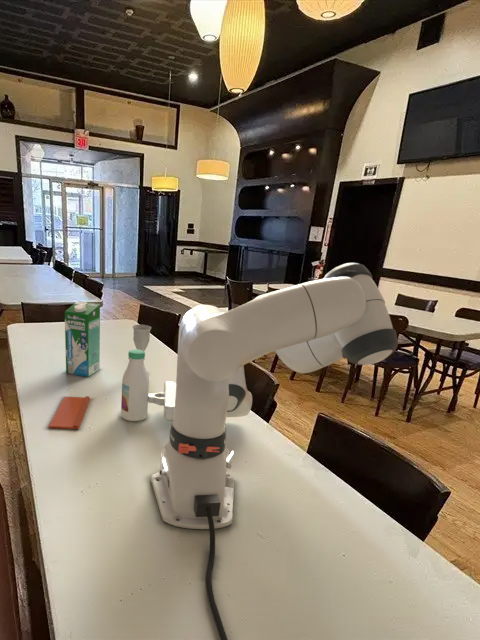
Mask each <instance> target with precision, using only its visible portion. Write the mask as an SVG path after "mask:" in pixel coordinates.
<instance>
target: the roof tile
mask: <svg viewBox="0 0 480 640" xmlns="http://www.w3.org/2000/svg"><path fill="white" fill-rule="evenodd" d="M90 401H91V397H90V396H88V395H87V396H85V397H80V396H63V399H62V401H61V402H60V404H59V406H58V408H57V410H56V411H55V414H54V415H53V417H52V419H51V421H50V423H49V424H48V429H60V430H61V429H62V430H80V427H81V424H82V422H83V419H84V417H85V414H86V411H87V410H88V406H89V404H90Z"/></svg>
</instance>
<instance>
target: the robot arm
mask: <svg viewBox="0 0 480 640" xmlns="http://www.w3.org/2000/svg"><path fill="white" fill-rule="evenodd" d="M177 341H178V342H177V360H176V381H170V380H169V381H165V382H164V383H163V391H159V392H155V393H151V392H150V393H149V392H148V404H155V405H158V406H163V418H164V419H166V420H168V421H171V424H170V428H169V441H168V442H167V443H166V444H164V445H162V448H161V454H160V455H161V457H160V467H159V471H157V472H154V473H152V474H151V477H150V483H151V486H152V489H153V492H154V496H155V500H156V503H157V506H158V510H159V512H160V517H161V519H162V521H163V522H164V523H167V524H168V525H171V526H174V527H177V528H183V529H191V530H209V554H208V560H207V561H208V562H207V567H206V572H205V588H206V595H207V599H208V603H209V607H210V610H211V613H212V617H213V618H214V622H215V627H216V629H217V632H218V635H219V638H220V640H229V639H228V636H227V633H226V630H225V627H224V624H223V621H222V618H221V615H220V612H219V610H218V606H217V603H216V599H215V596H214V595H215V594H214V589H213V569H214V564H215V559H216V558H215V557H216V532H215V530H216V529H222V528H225V527H228V526H230V525H232V524H233V520H234V519H233V518H234V496H235V477H234V476H231V474H229V473H227V469H230V470H231V469H232V461H230V460H231V458H232V457H233V455H234V450H232V451H231V452H230V449H228V448H227V447H226V442H227V428H226V422H227V418H241V417H245V416H248V415H249V414H250V412H251V410H252V407H253V395H252V392H250V391H249V390H248V387H247V384H246V383H247V382H246V375H245V374H246V373H245V365H247V364H249V363H251V362H253V361H255V360H257V359H259V358H261V357H263V356H265V355H268V354H270V353H275V354H276V356H277V357H278V358H279V360H280V361H281V362H282V363H283V364H284V365H285V366H286V367H287V368H288V369H289V370H292V372H295V373H299V374H309V373H313V372H316V371H319V370H321V369H323V368H325V367H328V366H331V365H333V364H335V363H336V362H338V361H340V360H342V359H346V360H347V361H348V362H349V363H351V364H354V365H356V366H365V365H367V366H368V365H373V364H377V363H380V362H382V361H384V360H386V359H387V358H388V357H390V356H391V355H392V354H394V353H395V351H396V349H397V348H398V345H399V343H398V342H399V341H398V335H397V330H395V329H394V327H393V323H392V320H391V316H390V313H389V311H388V308H387V306H386V301H385V299H384V297H383V295H382V293H381V291H380V289H379V288H378V286H377V284H376V282H375V280H373V275H372V273H371V272H370V270H369V269H368V268H367V267H366V266H365V265H364V264H361V263H358V262H346V263H343V264H340V265H338V266H335V267H334V268H332V269H331V270H330V271H327V273H326V274H325V275H324V277H323V278H320V279H315V280H310V281H306V282H302V283H298V284H295V285H291V286H288V287H285V288H280V289H277V290H274V291H270V292H267V293H263V294H259V295H258V296H256V297H255V298H253V299H252V300H250V301H247V302H246V303H243V304H241V305H239V306H237V307H235V308H232V309H229V310H227V311H223V310H222V309H221V308H219V307H217V306H215V305H210V304H200V305H196V306H193V307H192V308H190V309H189V310H187V312H186V313H185V314H184V315H183V317H182V319H181V320H180V324H179V328H178V340H177ZM229 453H230V454H229Z"/></svg>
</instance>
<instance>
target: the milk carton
mask: <svg viewBox="0 0 480 640" xmlns="http://www.w3.org/2000/svg"><path fill="white" fill-rule="evenodd" d="M100 330H101V304H100V303H94V302H88V301H80V300H77V301H76V302H75V303H73V304H72V305H71V306H70V307H69V308H67V309H66V310H64V336H65V337H64V340H65V341H64V343H65V346H64V347H65V373H66V374H70V375H76V376H80V377H86V378H89V377H90V376H92V375H93V374H95V373H96V372H98V371H100V367H101V366H100V365H101V364H100V362H101V361H100V360H101V359H100V357H101V356H100V355H101V352H100V351H101V348H100V347H101V346H100V345H101V343H100V342H101V331H100Z"/></svg>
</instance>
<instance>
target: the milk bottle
mask: <svg viewBox="0 0 480 640" xmlns="http://www.w3.org/2000/svg"><path fill="white" fill-rule="evenodd" d="M145 360H146V351H142V350H137V349H130V350H128V364H127V366H126V369H125V370H124V373H123V375H122V380H121V381H122V382H121V400H120V401H121V402H120V403H121V404H120V406H121V407H120V415H121V417H122V419H124V420H126V421H129V422H140V421H143V420H145V419H146V418H147V417H148V410H149V409H148V408H149V402H148V395H149V391H150V390H149V389H150V379H149V373H148V371H147V368H146V365H145Z"/></svg>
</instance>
